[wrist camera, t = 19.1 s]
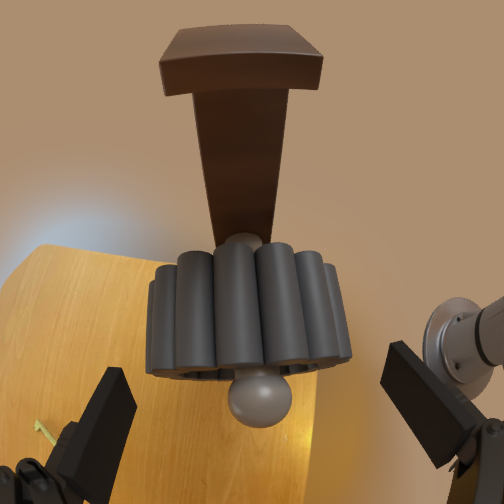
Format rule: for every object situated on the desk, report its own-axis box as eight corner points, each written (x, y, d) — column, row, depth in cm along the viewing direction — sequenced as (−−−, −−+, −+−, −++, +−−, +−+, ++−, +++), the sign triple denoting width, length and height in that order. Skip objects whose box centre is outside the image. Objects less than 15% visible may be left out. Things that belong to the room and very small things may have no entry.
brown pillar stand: (213, 323, 44) (121, 36, 8) (272, 317, 45) (342, 27, 9) (219, 408, 37) (-49, 444, 1) (283, 402, 38) (571, 365, 2)
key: (41, 417, 32) (34, 416, 30) (87, 453, 30) (81, 454, 29) (34, 443, 29) (28, 444, 27) (79, 480, 27) (73, 482, 25)
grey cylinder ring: (311, 373, 19) (393, 343, 10) (166, 381, 18) (116, 361, 8) (303, 314, 22) (367, 242, 12) (166, 317, 20) (129, 242, 11)
